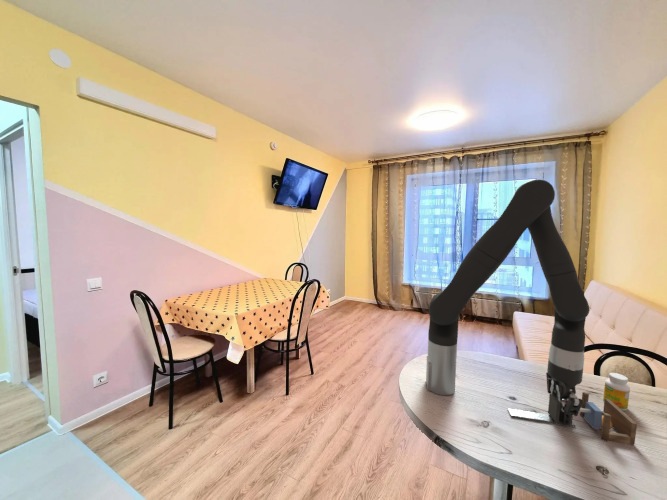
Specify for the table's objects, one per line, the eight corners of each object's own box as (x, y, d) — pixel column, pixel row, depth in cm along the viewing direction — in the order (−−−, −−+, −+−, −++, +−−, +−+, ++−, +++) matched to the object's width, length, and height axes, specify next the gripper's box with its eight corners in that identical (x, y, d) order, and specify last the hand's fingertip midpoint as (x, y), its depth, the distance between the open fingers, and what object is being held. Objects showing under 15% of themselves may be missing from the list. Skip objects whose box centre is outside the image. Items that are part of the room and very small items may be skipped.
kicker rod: (555, 422, 77) (557, 402, 76) (548, 412, 81) (549, 393, 80) (600, 429, 74) (602, 409, 74) (590, 419, 78) (593, 399, 78)
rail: (511, 417, 80) (511, 415, 80) (507, 410, 83) (507, 408, 83) (575, 427, 76) (575, 425, 76) (569, 419, 79) (569, 417, 79)
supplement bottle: (599, 402, 87) (602, 373, 86) (608, 397, 89) (611, 369, 88) (622, 413, 82) (626, 382, 81) (630, 408, 84) (634, 378, 83)
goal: (603, 440, 72) (606, 416, 71) (579, 413, 82) (581, 391, 81) (634, 445, 70) (638, 421, 69) (606, 417, 80) (608, 395, 79)
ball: (609, 418, 74) (619, 429, 73) (600, 410, 77) (609, 420, 77) (597, 425, 75) (606, 435, 74) (588, 416, 78) (597, 425, 78)
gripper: (538, 348, 84) (533, 399, 86) (564, 373, 71) (557, 433, 73) (566, 351, 82) (561, 403, 84) (598, 377, 69) (591, 439, 71)
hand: (559, 417), depth 78 cm, fingers closed on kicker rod, 4 cm apart
